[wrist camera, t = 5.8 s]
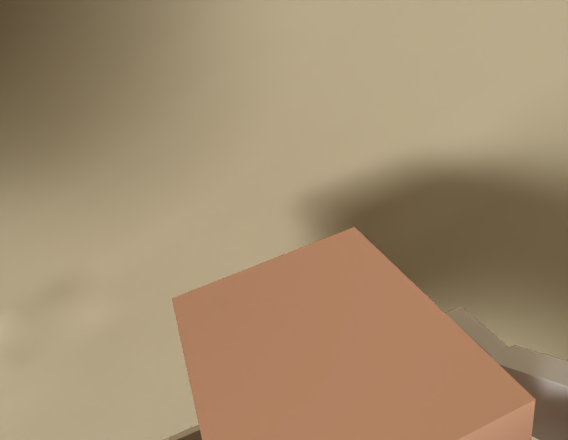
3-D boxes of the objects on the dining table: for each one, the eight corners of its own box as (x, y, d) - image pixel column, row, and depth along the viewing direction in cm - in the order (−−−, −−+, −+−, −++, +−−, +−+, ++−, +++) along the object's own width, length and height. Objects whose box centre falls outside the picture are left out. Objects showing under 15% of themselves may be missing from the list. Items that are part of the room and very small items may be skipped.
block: (375, 355, 15) (518, 551, 9) (228, 422, 14) (300, 678, 9) (354, 226, 12) (535, 399, 7) (172, 298, 11) (227, 559, 6)
